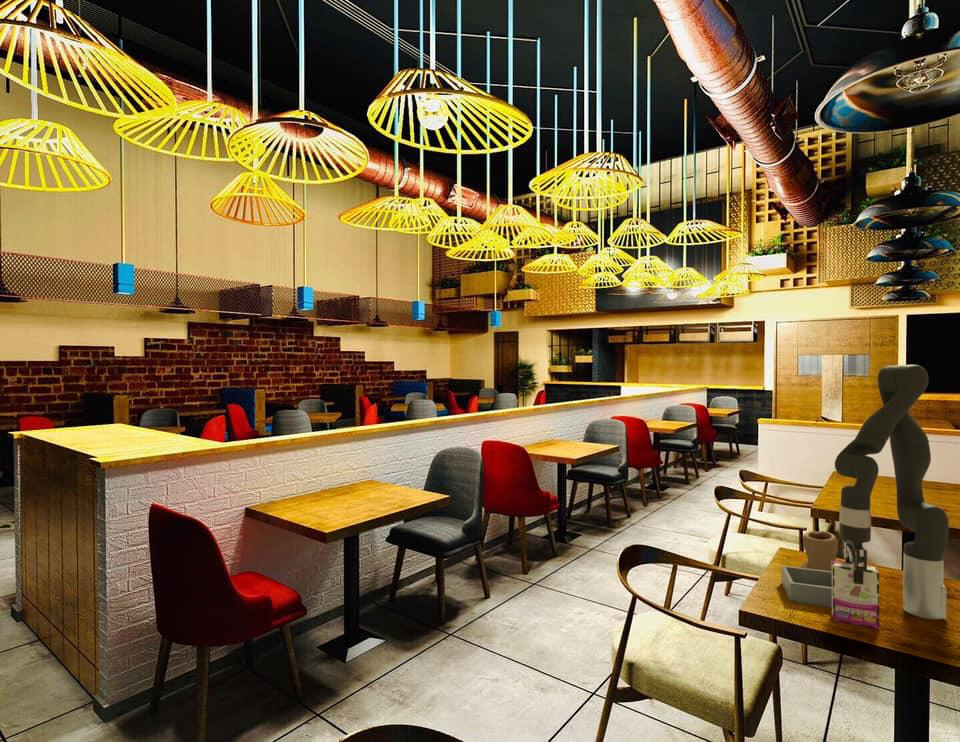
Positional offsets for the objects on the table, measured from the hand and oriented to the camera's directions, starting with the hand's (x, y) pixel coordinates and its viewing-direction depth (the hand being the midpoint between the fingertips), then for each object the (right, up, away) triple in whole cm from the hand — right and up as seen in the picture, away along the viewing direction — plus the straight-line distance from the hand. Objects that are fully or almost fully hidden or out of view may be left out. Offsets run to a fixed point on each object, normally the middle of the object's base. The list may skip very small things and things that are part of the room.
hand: (853, 578), depth 155 cm
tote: (-1, -13, +17) cm, 21 cm away
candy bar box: (0, -13, 0) cm, 13 cm away
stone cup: (+15, -13, +35) cm, 40 cm away
